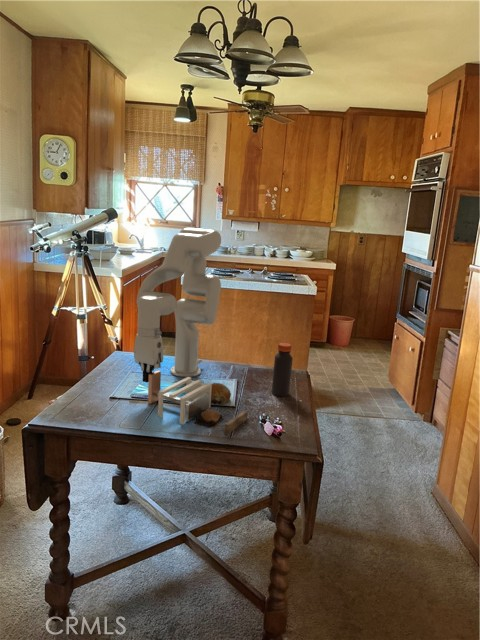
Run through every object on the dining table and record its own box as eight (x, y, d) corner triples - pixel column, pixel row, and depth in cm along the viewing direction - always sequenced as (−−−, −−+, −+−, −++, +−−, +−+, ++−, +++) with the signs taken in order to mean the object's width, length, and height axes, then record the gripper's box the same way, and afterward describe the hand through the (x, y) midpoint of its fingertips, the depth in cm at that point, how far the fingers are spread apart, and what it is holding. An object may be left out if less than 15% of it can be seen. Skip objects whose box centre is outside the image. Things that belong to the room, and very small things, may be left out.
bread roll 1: (203, 412, 165) (203, 402, 164) (225, 417, 162) (226, 407, 161) (190, 424, 155) (190, 414, 154) (214, 430, 152) (214, 419, 152)
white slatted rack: (187, 400, 173) (188, 376, 171) (210, 407, 168) (211, 383, 166) (157, 416, 158) (158, 391, 156) (182, 424, 154) (183, 398, 152)
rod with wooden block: (163, 394, 175) (164, 367, 173) (209, 408, 166) (210, 380, 164) (140, 406, 164) (141, 377, 161) (188, 422, 155) (189, 391, 152)
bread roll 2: (232, 409, 177) (237, 388, 178) (221, 406, 168) (227, 384, 169) (208, 402, 181) (214, 382, 182) (197, 400, 172) (202, 378, 173)
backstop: (243, 418, 161) (244, 410, 161) (246, 419, 161) (247, 411, 160) (224, 433, 150) (224, 424, 149) (227, 434, 150) (228, 425, 149)
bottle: (292, 394, 186) (297, 345, 181) (281, 398, 181) (286, 348, 176) (278, 388, 190) (283, 340, 185) (268, 392, 185) (272, 343, 180)
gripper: (172, 333, 165) (170, 383, 169) (139, 325, 171) (138, 373, 176) (158, 337, 158) (157, 389, 162) (124, 329, 165) (124, 379, 169)
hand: (147, 381), depth 169 cm, fingers closed
